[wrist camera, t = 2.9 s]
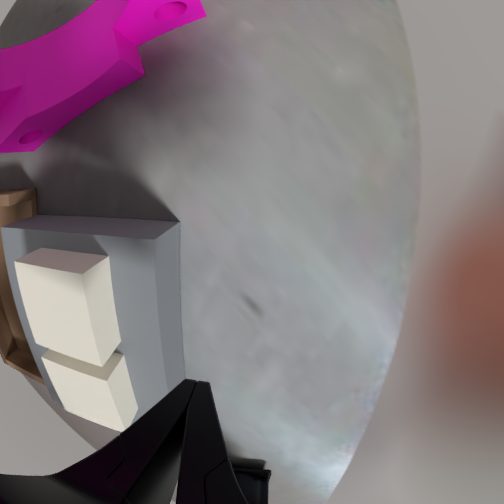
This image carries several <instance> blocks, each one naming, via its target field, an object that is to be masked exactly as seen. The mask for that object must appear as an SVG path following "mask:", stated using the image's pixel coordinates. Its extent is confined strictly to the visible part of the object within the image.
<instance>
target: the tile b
mask: <svg viewBox="0 0 504 504" xmlns="http://www.w3.org/2000/svg"><path fill="white" fill-rule="evenodd" d="M41 358H42V361H43V363H44V365H45V368H46V370H47V372H48V375H49V377H50V379H51V381H52V384H53V386H54V388H55V390H56V392H57V394H58V396H59V398H60V400H61V402H62V404H63V406H64V408H65V410H66V411H68V412H71V413H73V414H75V415H77V416H80V417H82V418H85V419H87V420H90V421H92V422H95V423H97V424H100V425H103V426H106V427H109V428H111V429H114V430H117V431H120V432H123V431H124V430H125V429H127V428H128V427H129V426H130V425H131V423H132V421H133V419H134V417H135V415H136V412H137V410H138V406H137V403H136V399H135V396H134V392H133V389H132V385H131V381H130V377H129V373H128V369H127V365H126V361H125V357H124V355H123V354H119V353H115V352H113V353H112V354H111V356H110V357H109V359H108V360H107V361H106V363H105V364H104V365H103V367H101V366H97V365H94V364H91V363H88V362H85V361H82V360H79V359H76V358H73V357H70V356H67V355H64V354H62V353H59V352H56V351H54V350H51V349H48V350H47V351H46V352H45V353H44V354H43V355H42V356H41Z"/></svg>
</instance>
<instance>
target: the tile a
mask: <svg viewBox="0 0 504 504" xmlns="http://www.w3.org/2000/svg"><path fill="white" fill-rule="evenodd" d="M14 264H15V269H16V274H17V279H18V284H19V288H20V292H21V296H22V300H23V304H24V307H25V311H26V314H27V318H28V321H29V324H30V327H31V330H32V333H33V336H34V339H35V342H36V344H39V345H41V346H44V347H46V348H49V349H51V350H54V351H56V352H59V353H62V354H64V355H67V356H70V357H73V358H76V359H79V360H82V361H85V362H88V363H91V364H94V365H97V366H101V367H103V365H104V364H105V363H106V361H107V360H108V359H109V357H110V356H111V354H112V353H113V352H114V350H115V349H116V347H117V346H118V345H119V343H120V342H121V338H120V333H119V327H118V322H117V316H116V310H115V303H114V296H113V289H112V281H111V272H110V261H109V256H105V255H97V254H88V253H80V252H72V251H65V250H57V249H49V248H40V249H37V250H35V251H33V252H31V253H29V254H27V255H25V256H23V257H21V258H19V259H17V260H15V261H14Z"/></svg>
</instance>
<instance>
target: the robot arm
mask: <svg viewBox="0 0 504 504" xmlns="http://www.w3.org/2000/svg"><path fill="white" fill-rule="evenodd" d="M270 477H271V470H264V469H247V468H235V467H232V465H231V462H230V460H229V456H228V452H227V449H226V445H225V441H224V438H223V434H222V430H221V427H220V423H219V419H218V415H217V411H216V407H215V403H214V399H213V395H212V390H211V386H210V383H209V382H205V381H198V382H197V381H196V380H192V379H184V380H183V381H182V382H181V383H179V384H178V385H177V386H176V387H175V388H174V389H173V390H171V391H170V392H169V393H168V394H167V395H166V396H165V397H163V398H162V399H161V400H160V401H159V402H158V403H156V404H155V405H154V406H153V407H152V408H151V409H149V410H148V411H147V412H146V413H145V414H144V415H142V416H141V417H140V418H139V419H138V420H136V421H135V422H134V423H133V424H132V425H130V426H129V427H128V428H127V429H125V430H124V431H123V432H122V433H120V436H119V435H118V436H117V437H115V438H114V439H113V440H112V441H110V442H109V443H108V444H106V445H105V446H104V447H102V448H101V449H99V450H98V451H96V452H95V453H93V454H91V455H90V456H88V457H86V458H85V459H83V460H81V461H79V462H78V463H75V464H74V465H72V466H70V467H68V468H66V469H64V470H62V471H60V472H58V473H55V474H52V475H46V476H22V475H5V474H0V504H170V501H171V498H172V495H173V492H174V489H175V486H176V483H177V480H178V486H177V496H176V504H268V482H269V479H270Z"/></svg>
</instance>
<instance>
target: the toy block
mask: <svg viewBox="0 0 504 504" xmlns="http://www.w3.org/2000/svg"><path fill="white" fill-rule="evenodd" d="M203 17H206V13H205V11H204V9H203V6H202V4H201V2H200V0H96V1H95V2H94V3H93V4H92V5H91V6H89V7H88V8H87V9H86V10H84V11H83V12H82V13H81V14H79V15H78V16H76V17H75V18H74V19H72V20H70V21H69V22H67V23H66V24H64V25H62V26H61V27H59V28H57V29H55V30H53V31H52V32H49V33H47V34H45V35H43V36H41V37H39V38H36V39H34V40H31V41H29V42H26V43H23V44H20V45H17V46H13V47H9V48H5V49H0V153H8V152H23V151H34V150H35V149H37V148H38V147H39V146H40V145H41V144H42V143H44V142H45V141H46V140H47V139H48V138H50V137H51V136H52V135H53V134H55V133H56V132H57V131H58V130H60V129H61V128H62V127H64V126H65V125H66V124H68V123H69V122H70V121H72V120H73V119H74V118H76V117H77V116H79V115H80V114H82V113H83V112H84V111H86V110H87V109H89V108H90V107H92V106H93V105H95V104H96V103H98V102H100V101H101V100H103V99H104V98H106V97H108V96H109V95H111V94H113V93H114V92H116V91H118V90H119V89H121V88H123V87H125V86H126V85H128V84H130V83H132V82H134V81H136V80H137V79H139V78H141V77H143V76H145V73H144V69H143V66H142V62H141V59H140V55H139V52H138V48H137V46H139V45H141V44H143V43H145V42H147V41H149V40H151V39H153V38H155V37H157V36H159V35H161V34H163V33H166V32H168V31H170V30H173V29H175V28H177V27H180V26H182V25H185V24H187V23H190V22H192V21H195V20H198V19H200V18H203Z"/></svg>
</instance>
